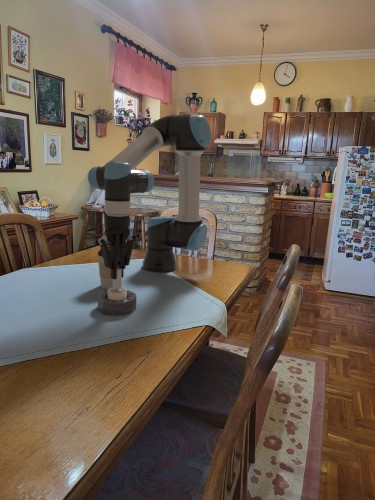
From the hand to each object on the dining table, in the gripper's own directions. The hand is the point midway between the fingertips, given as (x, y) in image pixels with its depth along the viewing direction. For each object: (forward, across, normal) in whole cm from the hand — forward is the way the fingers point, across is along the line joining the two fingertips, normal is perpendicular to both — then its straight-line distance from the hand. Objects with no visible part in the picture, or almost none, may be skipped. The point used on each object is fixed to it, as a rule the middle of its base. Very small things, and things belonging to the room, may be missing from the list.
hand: (117, 287), depth 113 cm
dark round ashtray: (+7, 0, 0) cm, 7 cm away
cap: (+7, 0, 0) cm, 7 cm away
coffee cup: (+7, -9, -19) cm, 22 cm away
